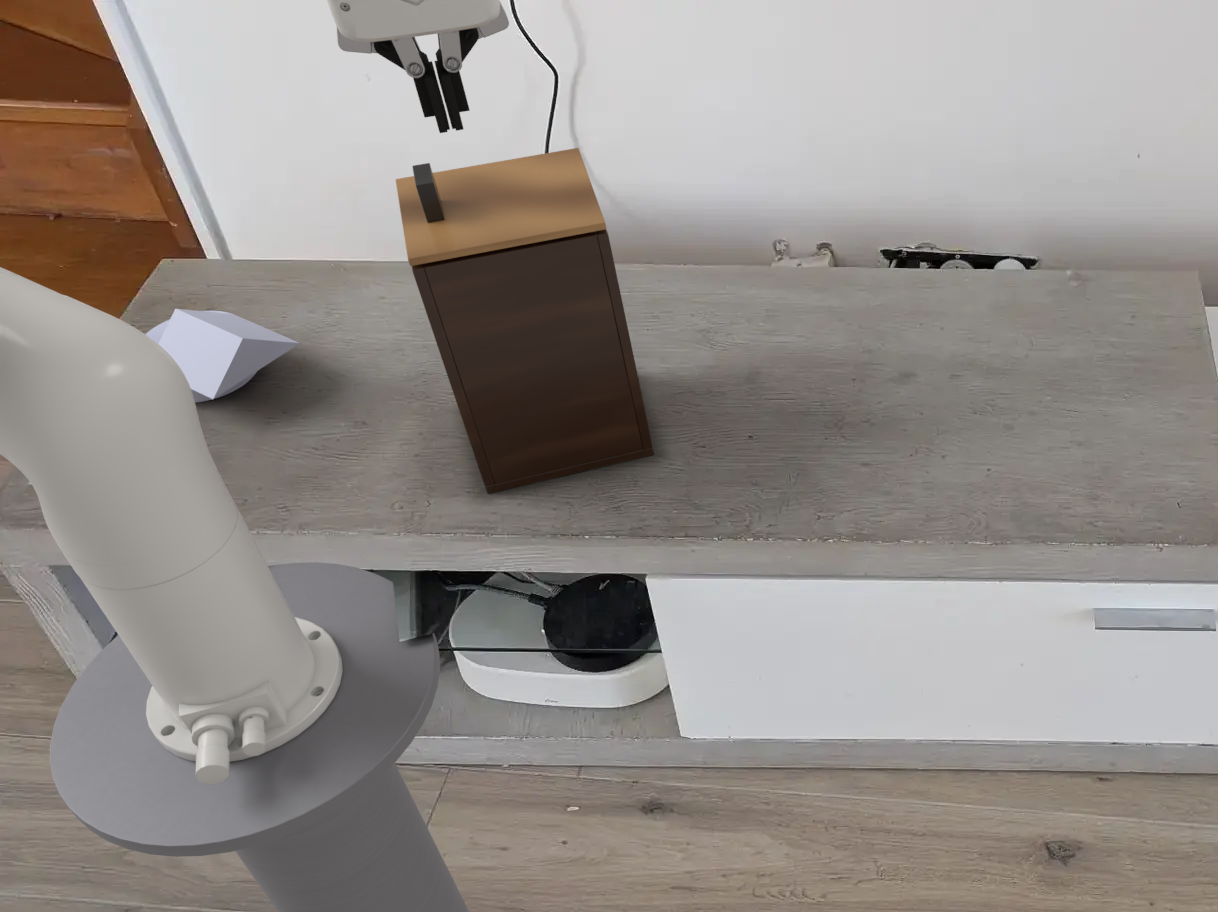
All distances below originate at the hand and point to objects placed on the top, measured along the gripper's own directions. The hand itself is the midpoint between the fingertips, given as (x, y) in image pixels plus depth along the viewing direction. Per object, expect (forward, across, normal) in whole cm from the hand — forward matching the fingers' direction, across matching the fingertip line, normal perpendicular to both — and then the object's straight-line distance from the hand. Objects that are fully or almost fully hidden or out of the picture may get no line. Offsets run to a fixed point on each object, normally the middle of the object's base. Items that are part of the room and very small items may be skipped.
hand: (449, 122), depth 91 cm
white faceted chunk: (+29, -25, +19) cm, 43 cm away
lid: (+7, +2, +1) cm, 8 cm away
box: (+29, +2, +1) cm, 29 cm away
